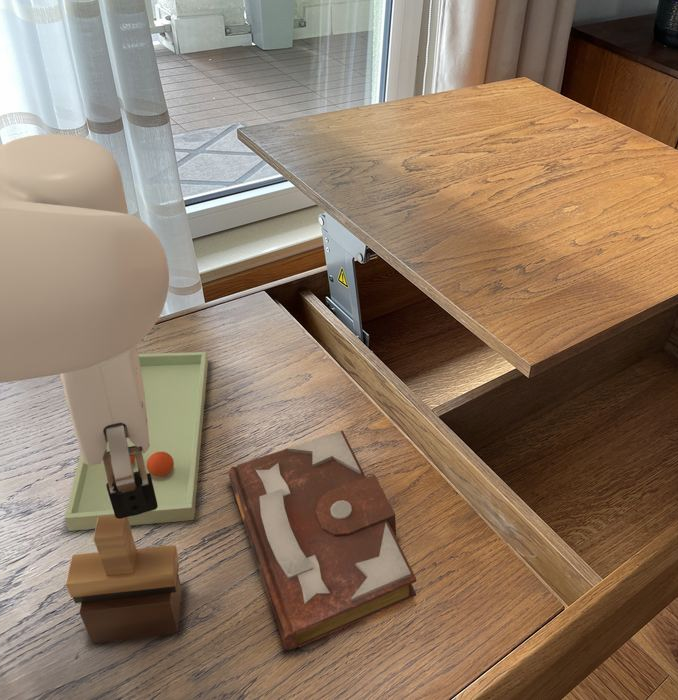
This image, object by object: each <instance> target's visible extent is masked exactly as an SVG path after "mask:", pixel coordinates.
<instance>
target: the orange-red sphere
mask: <svg viewBox="0 0 678 700" xmlns="http://www.w3.org/2000/svg"><path fill="white" fill-rule="evenodd" d="M173 466H174V461H173V458H172V456H171V455H170V454H168V453H166V452H156V453H154V454H152V455H151V456H150V457H149V459H148V461H147V469H148V471H149V472H150V473H151V474H152V475H154V476H157V477H162V476H165V475H167V474H169V473H170V472H171V471H172V469H173Z"/></svg>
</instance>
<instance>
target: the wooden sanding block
mask: <svg viewBox="0 0 678 700" xmlns="http://www.w3.org/2000/svg"><path fill="white" fill-rule="evenodd" d="M93 541H94V544H95V547H96V550H97V552H88V553H87V552H86V553H78V554H77V553H76V554H72V555H71V559H70V563H69V568H68V572H67V576H66V581H65V587H66V589H67V591H68V594H69V596H70V598H72V599H73V602H74V603H75V604H81V603H83V602H92V601H101V600H111V599H120V598H129V597H138V596H147V595H156V594H165V593H174V592H176V590H177V580H178V575H179V569H180V563H179V555H178V549H177V546H176V544H171V545H160V546H151V547H140V548H137V545H136V542H135V539H134V535H133V532H132V528H131V526H130V525H129V521H128V518H127V517H125V518H121V519H118V518H116V517H115V515H112V516H100V517H98V519H97V524H96V529H94V534H93Z"/></svg>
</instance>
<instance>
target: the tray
mask: <svg viewBox="0 0 678 700" xmlns="http://www.w3.org/2000/svg"><path fill="white" fill-rule="evenodd" d="M138 356H139V361H140V367H141V373H142V379H143V386H144V392H145V401H146V409H147V420H148V431H149V443H150V447H149V449H148V450H147V451H146V452H145V453H144V454H143V451H142V454H143V459H144V463H145V468H146V473H147V474H149V473H150V472H149V471H148V469H147V461H148V459H149V457H150V456H151V455H152V454H154V453H156V452H166V453H168V454H170V455H171V456H172V458H173V461H174V466H173V469H172V471H171V472H170V473H169V474H167V475H165V476H162V477H157V476H154V475H152V474H151V473H150V474H151V478H152V483H153V487H154V491H155V496H156V500H157V505H158V507H157V509H155V510H152V511H148V512H144V513H142V514H139V515H135V516H129V517H127V518H128V521H129V525H130V527H131V526H141V525H142V526H143V525H153V524H162V523H163V524H164V523H174V522H175V523H176V522H186V521H187V522H188V521H194V520H195V514H196V504H197V503H196V501H197V491H198V482H199V481H198V480H199V468H200V457H201V447H202V435H203V424H204V413H205V404H206V403H205V402H206V391H207V381H208V379H207V378H208V368H209V361H208V355H207V351H192V352H190V351H189V352H187V351H186V352H163V353H162V352H161V353H138ZM127 443H128V446H129V447H131V446H135V444H133V443H132V442H131V441H130V439H129V438H127ZM107 450H108V452H109V451H110V450H109V444H108V442H107ZM132 468H133V472H137V471H138V467H137V462H136V458H135V461H134V463H133V464H132ZM107 483H108V480H107V476H106V471H105V466H104V462H103V459H102V462H101V463H100V464H95V465H92V466H89V465H87V464H85V463H84V462H83V461H82V457H81V453H79V458H78V462H77V466H76V470H75V473H74V479H73V483H72V486H71V490H70V494H69V498H68V503H67V506H66V509H65V513H64V518H63V519H64V521H65V524H66V527H67V529H68V531H69V532H73V531H84V530H95V529H96V524H97V519H98V517H100V516H112V515H115V514H114V511H113V507H112V504H111V501H110V497H109V494H108V491H107V486H106V484H107Z"/></svg>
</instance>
